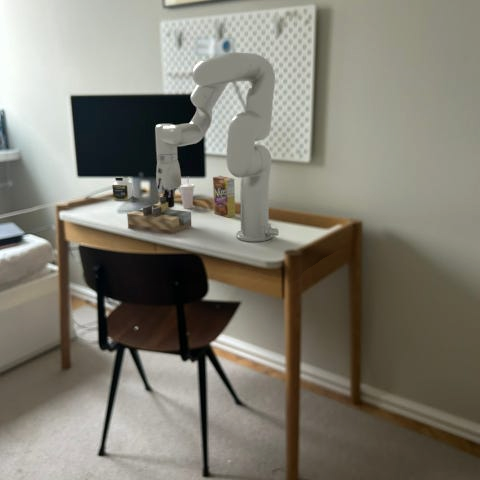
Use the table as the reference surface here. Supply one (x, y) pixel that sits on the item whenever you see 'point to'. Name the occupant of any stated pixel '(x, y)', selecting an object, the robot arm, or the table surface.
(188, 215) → the lock frame
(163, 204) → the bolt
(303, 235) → the table surface
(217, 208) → the candy box
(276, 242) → the table surface
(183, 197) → the smoothie
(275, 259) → the table surface
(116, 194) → the medicine bottle
